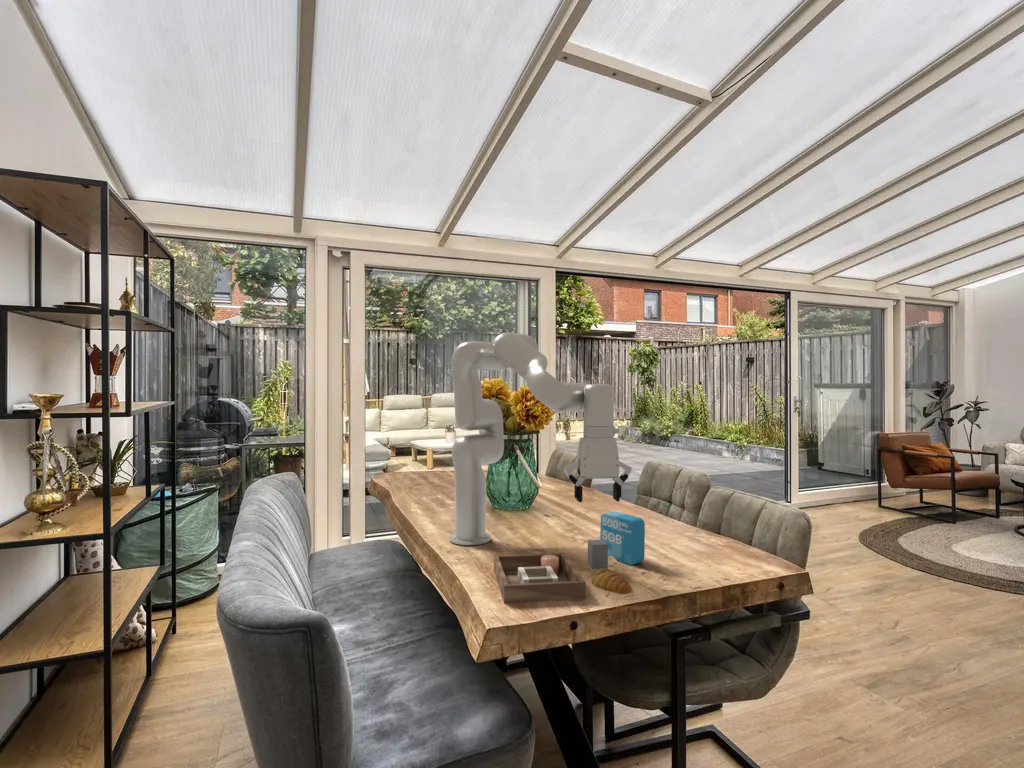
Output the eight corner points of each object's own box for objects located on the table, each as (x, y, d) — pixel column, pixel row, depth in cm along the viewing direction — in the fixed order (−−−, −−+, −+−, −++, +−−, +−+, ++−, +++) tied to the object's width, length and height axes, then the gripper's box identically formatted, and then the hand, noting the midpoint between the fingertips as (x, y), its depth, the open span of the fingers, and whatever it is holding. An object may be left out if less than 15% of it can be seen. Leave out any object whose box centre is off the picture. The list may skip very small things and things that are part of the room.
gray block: (587, 571, 138) (587, 540, 138) (602, 570, 138) (603, 539, 138) (592, 576, 134) (592, 544, 134) (607, 576, 134) (608, 544, 134)
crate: (493, 573, 135) (493, 555, 135) (563, 570, 138) (563, 553, 138) (504, 606, 116) (504, 586, 116) (585, 602, 118) (585, 582, 118)
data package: (599, 555, 151) (600, 512, 151) (610, 551, 154) (610, 509, 153) (633, 567, 141) (634, 521, 141) (644, 563, 144) (645, 518, 144)
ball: (539, 571, 135) (539, 555, 135) (556, 570, 136) (556, 554, 136) (542, 577, 131) (543, 561, 131) (560, 576, 131) (560, 560, 131)
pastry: (638, 593, 124) (638, 577, 124) (619, 601, 120) (619, 584, 120) (607, 581, 132) (607, 565, 132) (588, 587, 128) (588, 571, 127)
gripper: (626, 431, 141) (625, 496, 141) (561, 431, 138) (560, 498, 138) (636, 434, 133) (636, 503, 133) (568, 434, 131) (567, 505, 131)
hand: (597, 500), depth 136 cm, fingers open, 9 cm apart
